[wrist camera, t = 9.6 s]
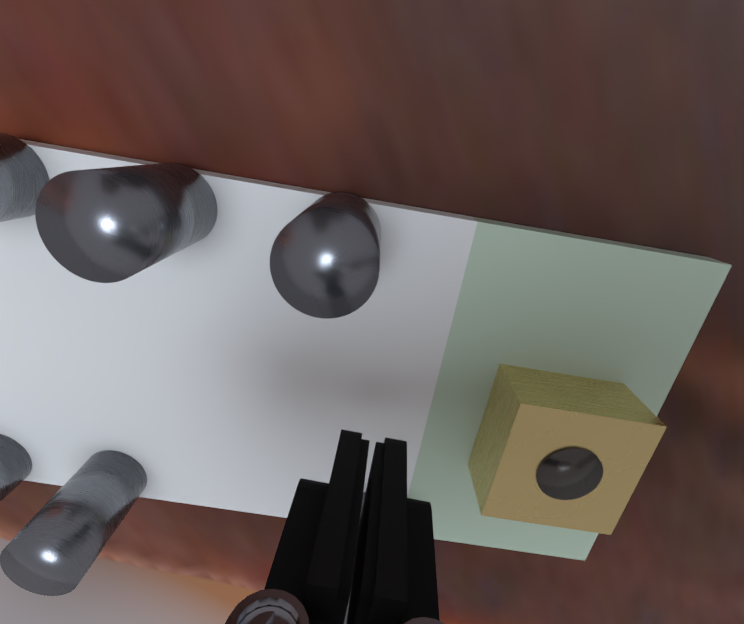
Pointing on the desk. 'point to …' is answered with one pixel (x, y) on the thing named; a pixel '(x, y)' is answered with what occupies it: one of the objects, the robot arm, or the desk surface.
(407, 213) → the board
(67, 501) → the spacers
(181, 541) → the desk surface
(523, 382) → the nut
